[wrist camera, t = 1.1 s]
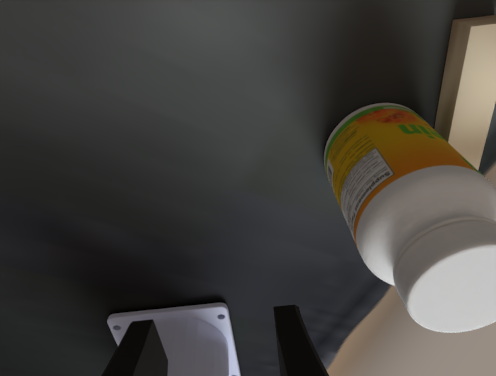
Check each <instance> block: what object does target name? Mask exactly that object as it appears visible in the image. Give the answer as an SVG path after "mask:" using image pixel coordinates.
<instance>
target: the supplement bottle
mask: <svg viewBox="0 0 496 376" xmlns="http://www.w3.org/2000/svg"><path fill="white" fill-rule="evenodd" d="M324 166H325V170H326V173H327V176H328V179H329V182H330V184H331V186H332V189H333V191H334V194H335V196H336V198H337V201H338V203H339V205H340V208H341V210H342V212H343V215H344V217H345V220H346V222H347V224H348V227H349V229H350V231H351V234H352V236H353V239H354V241H355V243H356V246H357V248H358V251H359V253H360V255H361V257H362V259H363V260H364V262H365V264H366V265H367V267H368V268H369V269H370V270H371V271H372V272H373V273H374V274H375V275H376V276H377V277H379V278H380V279H381V280H383V281H385V282H387V283H389V284H391V285H394V286H395V288H396V290H397V293H398V294H399V296H400V297H401V299H402V301H403V303H404V305H405V307H406V309H407V311H408V313H409V314H410V316H411V317H412V318H413V320H414V321H416V322H417V323H418V324H419V325H421V326H423V327H425V328H426V329H430V330H433V331H437V332H446V333H451V332H452V333H455V332H465V331H470V330H474V329H478V328H481V327H484V326H487V325H489V324H491V323H494V322H496V188H495V187H494V186H493V185H492V184H491V183H490V182H489V181H488V179H486V177H485V176H483V175H482V174H481V173H480V172H479V171H478V170H477V169H476V168H475V167H474V166H473V165H472V164H470V163H469V162H468V161H467V160H466V159H465V158H464V157H463V156H462V155H461V154H460V153H459V152H458V151H456V150H455V149H454V148H453V147H452V146H451V145H450V144H449V143H448V142H447V141H446V140H445V139H444V138H443V137H441V136H440V135H439V134H438V133H437V132H436V131H435V130H434V129H433V128H432V127H431V126H430V125H429V124H428V123H427V122H426V121H425V120H424V119H422V118H421V117H420V116H419V115H418V114H417V113H415V112H414V111H413V110H411V109H409V108H407V107H405V106H402V105H399V104H394V103H377V104H372V105H368V106H365V107H362V108H360V109H358V110H356V111H354V112H352V113H351V114H349V115H348V116H347V117H345V118H344V119H343V120H342V121H341V122H340V123H339V124H338V125H337V126H336V128H335V129H334V130H333V132H332V133H331V135H330V137H329V139H328V141H327V144H326V147H325V152H324Z"/></svg>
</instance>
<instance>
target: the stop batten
mask: <svg viewBox="0 0 496 376" xmlns="http://www.w3.org/2000/svg"><path fill="white" fill-rule="evenodd" d="M495 102H496V15H491V16H482V17H474V18H465V19H456V20H453V23H452V28H451V34H450V40H449V46H448V52H447V57H446V63H445V69H444V75H443V80H442V86H441V92H440V98H439V103H438V109H437V115H436V121H435V126H434V130H435V131H436V132H437V133H438V134H439V135H440V136H441V137H443V138H444V139H445V140H446V141H447V142H448V143H449V144H450V145H451V146H452V147H453V148H454V149H455V150H456V151H458V152H459V153H460V154H461V155H462V156H463V157H464V158H465V159H466V160H467V161H468V162H469V163H470V164H472V165H473V166H474V167H475V168H476V169H477V170H478V168H479V164H480V160H481V156H482V153H483V149H484V145H485V141H486V137H487V133H488V129H489V125H490V121H491V117H492V114H493V110H494V106H495Z"/></svg>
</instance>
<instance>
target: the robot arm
mask: <svg viewBox="0 0 496 376" xmlns="http://www.w3.org/2000/svg"><path fill="white" fill-rule="evenodd" d="M220 314H222V315H220ZM274 317H275V327H276V337H277V348H278V357H279V365H280V374H281V376H329V375H328V373H327V371H326V369H325V367H324V365H323V363H322V362H321V360H320V358H319V356H318V354H317V352H316V350H315V348H314V345H313V343H312V341H311V339H310V337H309V335H308V332H307V330H306V327H305V325H304V322H303V320H302V317H301V314H300V311H299V307H297V306H296V305H288V306H278V307H274ZM107 324H108V326H109V328H110V330H111V332H112V334H113V337H114V339H115V341H116V343H117V345H118V347H117V349H116V351H115V353H114V355H113V357H112V358H111V360H110V362H109V364H108V365H107V367H106V369H105V371H104V372H103V374H102V376H241V374H240V368H239V363H238V358H237V353H236V348H235V343H234V337H233V332H232V327H231V322H230V317H229V311H228V307H227V305H226V304H225V303H210V304H201V305H191V306H182V307H172V308H163V309H154V310H144V311H135V312H125V313H116V314H111V315H110V316H109V317H108V320H107Z"/></svg>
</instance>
